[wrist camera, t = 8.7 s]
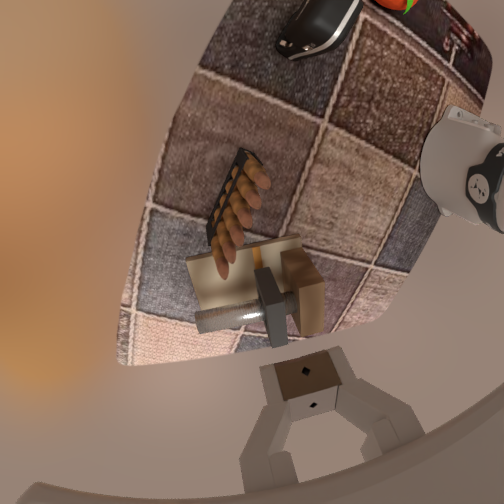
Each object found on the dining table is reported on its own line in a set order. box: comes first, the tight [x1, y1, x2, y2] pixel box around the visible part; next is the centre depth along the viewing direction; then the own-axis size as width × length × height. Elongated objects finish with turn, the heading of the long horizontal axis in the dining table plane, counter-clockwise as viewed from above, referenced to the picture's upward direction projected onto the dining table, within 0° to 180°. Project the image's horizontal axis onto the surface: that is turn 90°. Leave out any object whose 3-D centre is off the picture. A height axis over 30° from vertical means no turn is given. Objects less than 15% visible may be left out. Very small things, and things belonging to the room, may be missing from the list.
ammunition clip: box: [206, 148, 271, 280], centre depth 29 cm, size 11×2×12 cm, turn 156°
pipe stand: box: [186, 234, 325, 337], centre depth 37 cm, size 15×11×9 cm
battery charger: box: [276, 0, 364, 61], centre depth 21 cm, size 7×4×11 cm, turn 153°
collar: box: [254, 267, 288, 348], centre depth 35 cm, size 2×7×7 cm, turn 8°
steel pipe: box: [195, 290, 298, 334], centre depth 35 cm, size 14×3×3 cm, turn 98°
